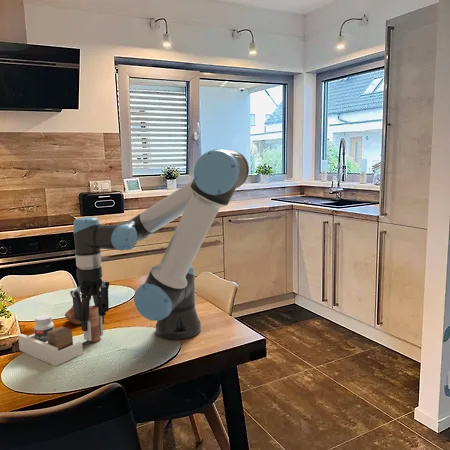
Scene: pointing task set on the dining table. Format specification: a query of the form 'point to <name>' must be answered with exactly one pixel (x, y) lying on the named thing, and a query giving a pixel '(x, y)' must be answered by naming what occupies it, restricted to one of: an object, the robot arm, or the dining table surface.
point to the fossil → (71, 316)
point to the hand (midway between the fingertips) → (93, 336)
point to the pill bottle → (43, 327)
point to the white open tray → (48, 350)
